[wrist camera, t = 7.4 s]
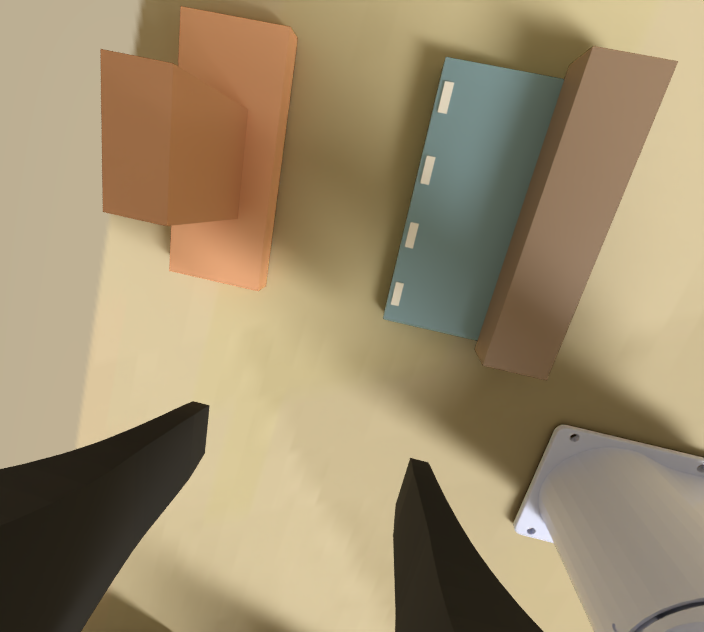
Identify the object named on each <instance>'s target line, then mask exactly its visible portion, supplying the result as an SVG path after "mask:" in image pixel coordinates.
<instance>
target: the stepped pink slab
mask: <svg viewBox="0 0 704 632" xmlns="http://www.w3.org/2000/svg"><path fill="white" fill-rule="evenodd" d="M297 40H298V38H297V37H296V35H295V33H294V32H293V30H292V28H291V27H289V26H284V25H278V24H273V23H268V22H262V21H257V20H252V19H246V18H241V17H236V16H230V15H225V14H220V13H214V12H209V11H204V10H198V9H193V8H188V7H182V6H181V10H180V33H179V57H178V66H177V65H175V64H174V63H169V62H164V61H159V60H154V59H149V58H144V57H139V56H134V55H129V54H123V53H118V52H113V51H108V50H103V49H101V114H102V180H103V181H102V182H103V212H106V213H110V214H115V215H119V216H124V217H128V218H133V219H137V220H142V221H146V222H151V223H155V224H160V225H164V226H171V244H170V267H169V271H172V272H177V273H181V274H186V275H190V276H194V277H199V278H203V279H207V280H212V281H216V282H220V283H225V284H229V285H234V286H238V287H242V288H247V289H251V290H255V291H259V290H261V289H262V288H264V287H265V286H266V281H267V273H268V265H269V257H270V250H271V242H272V234H273V226H274V219H275V211H276V203H277V195H278V188H279V180H280V172H281V164H282V156H283V149H284V141H285V133H286V125H287V118H288V110H289V102H290V94H291V87H292V79H293V71H294V63H295V56H296V48H297Z"/></svg>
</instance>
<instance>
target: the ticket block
mask: <svg viewBox="0 0 704 632" xmlns="http://www.w3.org/2000/svg"><path fill="white" fill-rule="evenodd" d="M677 63H678V61H674V60H668V59H663V58H657V57H652V56H646V55H641V54H635V53H630V52H624V51H619V50H613V49H608V48H602V47H597V46H593V47H591V48H590V49H589V50H588V51H586V52H585V53H584V54H583V55H581V56H580V57H579V58H578V59H576V60H575V61H574V62H573V63H571V64H570V65H569V67H568V70H567V73H566V76H565V79H561V78H556V77H550V76H545V75H540V74H534V73H529V72H524V71H519V70H513V69H508V68H503V67H497V66H492V65H487V64H481V63H476V62H471V61H465V60H460V59H455V58H449V57H446V59H445V62H444V65H443V68H442V72H441V76H440V81H439V85H438V89H437V93H436V97H435V102H434V106H433V110H432V114H431V118H430V122H429V127H428V131H427V135H426V139H425V143H424V148H423V152H422V156H421V160H420V164H419V168H418V173H417V177H416V181H415V185H414V189H413V193H412V198H411V202H410V206H409V210H408V214H407V219H406V223H405V227H404V231H403V235H402V239H401V244H400V248H399V252H398V256H397V260H396V265H395V269H394V273H393V277H392V281H391V285H390V290H389V294H388V298H387V302H386V306H385V311H384V316H383V319H385V320H389V321H393V322H398V323H402V324H406V325H411V326H415V327H420V328H424V329H428V330H433V331H437V332H441V333H446V334H450V335H455V336H459V337H463V338H468V339H472V340H476V341H477V344H476V347H475V351H476V353H477V355H478V357H479V359H480V361H481V363H482V365H483V366H487V367H491V368H496V369H500V370H504V371H509V372H513V373H517V374H521V375H526V376H530V377H534V378H539V379H543V380H547V378H548V376H549V373H550V371H551V369H552V366H553V364H554V361H555V359H556V356H557V354H558V352H559V349H560V347H561V344H562V342H563V339H564V337H565V335H566V332H567V330H568V327H569V325H570V322H571V320H572V318H573V315H574V313H575V310H576V308H577V306H578V303H579V301H580V298H581V296H582V293H583V291H584V289H585V286H586V284H587V281H588V279H589V276H590V274H591V272H592V269H593V267H594V264H595V262H596V259H597V257H598V255H599V252H600V250H601V247H602V245H603V242H604V240H605V238H606V235H607V233H608V230H609V228H610V225H611V223H612V221H613V218H614V216H615V213H616V211H617V208H618V206H619V204H620V201H621V199H622V196H623V194H624V191H625V189H626V187H627V184H628V182H629V179H630V177H631V175H632V172H633V170H634V167H635V165H636V162H637V160H638V158H639V155H640V153H641V150H642V148H643V145H644V143H645V141H646V138H647V136H648V133H649V131H650V128H651V126H652V124H653V121H654V119H655V116H656V114H657V111H658V109H659V107H660V104H661V102H662V99H663V97H664V94H665V92H666V90H667V87H668V85H669V82H670V80H671V77H672V75H673V73H674V70H675V68H676V65H677Z"/></svg>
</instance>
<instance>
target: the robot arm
mask: <svg viewBox="0 0 704 632" xmlns="http://www.w3.org/2000/svg"><path fill="white" fill-rule="evenodd" d="M208 415H209V405H205V404H202V403H198V402H194V401H193V402H190V403H188V404H185V405H183V406H181V407H179V408H177V409H174V410H172V411H170V412H168V413H166V414H164V415H162V416H159V417H157V418H155V419H153V420H150V421H148V422H146V423H144V424H142V425H139V426H137V427H135V428H132V429H130V430H127V431H125V432H122V433H120V434H117V435H115V436H113V437H110V438H108V439H105V440H102V441H100V442H97V443H94V444H91V445H88V446H85V447H82V448H79V449H76V450H73V451H70V452H67V453H63V454H60V455H56V456H53V457H49V458H45V459H41V460H37V461H34V462H30V463H26V464H22V465H17V466H13V467H8V468H4V469H0V632H81V631H82V629H83V627H84V626H85V624H86V622H87V621H88V619H89V617H90V616H91V614H92V613H93V611H94V610H95V608H96V606H97V605H98V603H99V602H100V600H101V599H102V597H103V595H104V594H105V592H106V591H107V589H108V588H109V586H110V584H111V583H112V581H113V580H114V578H115V577H116V575H117V574H118V572H119V571H120V569H121V568H122V566H123V565H124V563H125V562H126V560H127V559H128V557H129V556H130V554H131V553H132V551H133V550H134V548H135V547H136V546H137V544H138V543H139V542H140V540H141V539H142V538H143V536H144V535H145V534H146V532H147V531H148V530H149V529H150V527H151V526H152V525H153V524H154V522H155V521H156V520H157V519H158V517H159V516H160V515H161V514H162V512H163V511H164V510H165V509H166V507H167V506H168V505H169V504H170V502H171V501H172V500H173V499H174V497H175V496H176V495H177V494H178V492H179V491H180V490H181V489H182V487H183V486H184V485H185V483H186V482H187V481H188V480H189V478H190V477H191V475H192V473H193V472H194V470H195V469H196V467H197V465H198V464H199V462H200V460H201V459H202V457H203V455H204V454H205V445H206V435H207V425H208ZM573 434H576V436H575V437H573V438H570V436H571V435H573ZM700 465H701V466H700ZM698 466H700V467H698ZM697 467H698V468H697ZM513 526H514V529H515V531H516V532H517V533H518V534H520V535H524V536H528V537H532V538H536V539H540V540H544V541H548V542H552V543H554V545H555V547H556V549H557V551H558V553H559V556H560V558H561V560H562V562H563V564H564V566H565V569H566V571H567V573H568V575H569V577H570V580H571V582H572V584H573V586H574V588H575V591H576V593H577V595H578V597H579V599H580V602H581V604H582V606H583V608H584V610H585V613H586V615H587V617H588V619H589V621H590V624H591V626H592V628H593V630H594V632H704V458H703V457H699V456H695V455H691V454H686V453H682V452H678V451H674V450H670V449H666V448H661V447H657V446H653V445H649V444H645V443H640V442H636V441H632V440H628V439H624V438H619V437H615V436H611V435H607V434H603V433H598V432H594V431H590V430H586V429H582V428H577V427H573V426H569V425H559V426H558V427H556V428H555V430H554V432H553V434H552V436H551V439H550V441H549V443H548V446H547V448H546V450H545V452H544V455H543V457H542V459H541V461H540V464H539V466H538V468H537V470H536V473H535V475H534V477H533V480H532V482H531V484H530V486H529V489H528V491H527V493H526V495H525V498H524V500H523V502H522V505H521V507H520V509H519V511H518V514H517V516H516V518H515V520H514V523H513ZM529 528H532V529H529ZM393 543H394V576H395V607H396V620H395V632H543V631H542V630H541V628H540V627H539V626H538V625H537V624H536V623H535V622H534V621H533V620H532V619H531V618H530V617H529V616H528V615H527V613H526V612H525V611H524V610H523V609H522V608H521V607H520V606H519V604H518V603H517V602H516V601H515V600H514V599H513V597H512V596H511V595H510V594H509V593H508V591H507V590H506V589H505V588H504V586H503V585H502V584H501V583H500V582H499V580H498V579H497V578H496V576H495V575H494V574H493V573H492V571H491V570H490V569H489V567H488V566H487V564H486V563H485V562H484V560H483V559H482V557H481V556H480V555H479V553H478V552H477V550H476V549H475V547H474V546H473V544H472V543H471V541H470V540H469V538H468V537H467V535H466V533H465V532H464V530H463V528H462V527H461V525H460V523H459V522H458V520H457V518H456V516H455V514H454V513H453V511H452V509H451V507H450V505H449V503H448V502H447V500H446V498H445V496H444V494H443V492H442V490H441V488H440V486H439V484H438V482H437V480H436V477H435V475H434V473H433V471H432V469H431V467H430V465H429V463H428V462H424V461H420V460H416V459H413V458H410V461H409V464H408V467H407V470H406V474H405V477H404V480H403V483H402V486H401V489H400V493H399V496H398V499H397V502H396V508H395V519H394V533H393Z"/></svg>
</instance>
